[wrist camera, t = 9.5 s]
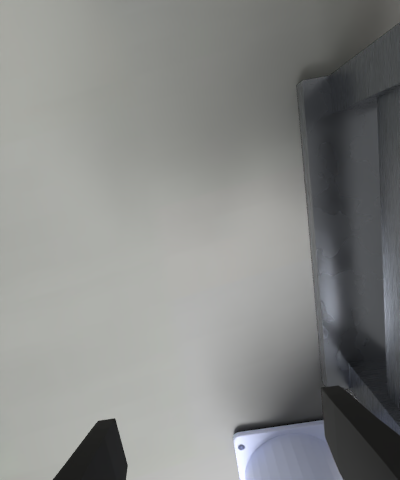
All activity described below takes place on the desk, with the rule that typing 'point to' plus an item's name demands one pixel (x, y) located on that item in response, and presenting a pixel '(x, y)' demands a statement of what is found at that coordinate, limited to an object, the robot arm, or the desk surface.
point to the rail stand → (356, 222)
